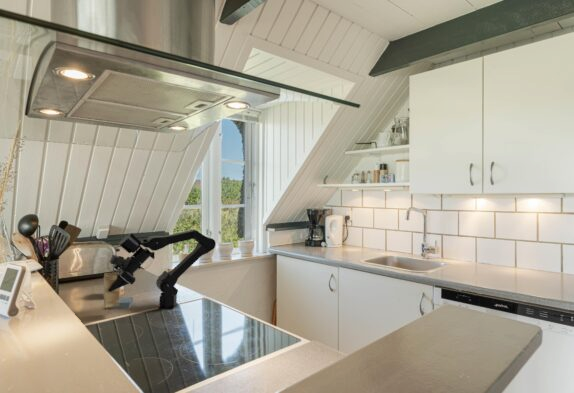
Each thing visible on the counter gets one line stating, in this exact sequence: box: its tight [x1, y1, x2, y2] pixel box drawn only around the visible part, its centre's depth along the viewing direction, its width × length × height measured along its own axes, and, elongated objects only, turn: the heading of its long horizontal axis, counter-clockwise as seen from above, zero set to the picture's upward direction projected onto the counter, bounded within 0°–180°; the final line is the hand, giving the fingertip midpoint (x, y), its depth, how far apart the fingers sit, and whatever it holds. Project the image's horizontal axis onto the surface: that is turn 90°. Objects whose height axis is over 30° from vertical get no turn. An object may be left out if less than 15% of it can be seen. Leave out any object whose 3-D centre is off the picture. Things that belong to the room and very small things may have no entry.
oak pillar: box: [103, 271, 120, 309], centre depth 143 cm, size 5×5×13 cm
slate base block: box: [109, 296, 134, 310], centre depth 157 cm, size 8×8×3 cm
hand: (108, 289), depth 143 cm, fingers closed on oak pillar, 5 cm apart
